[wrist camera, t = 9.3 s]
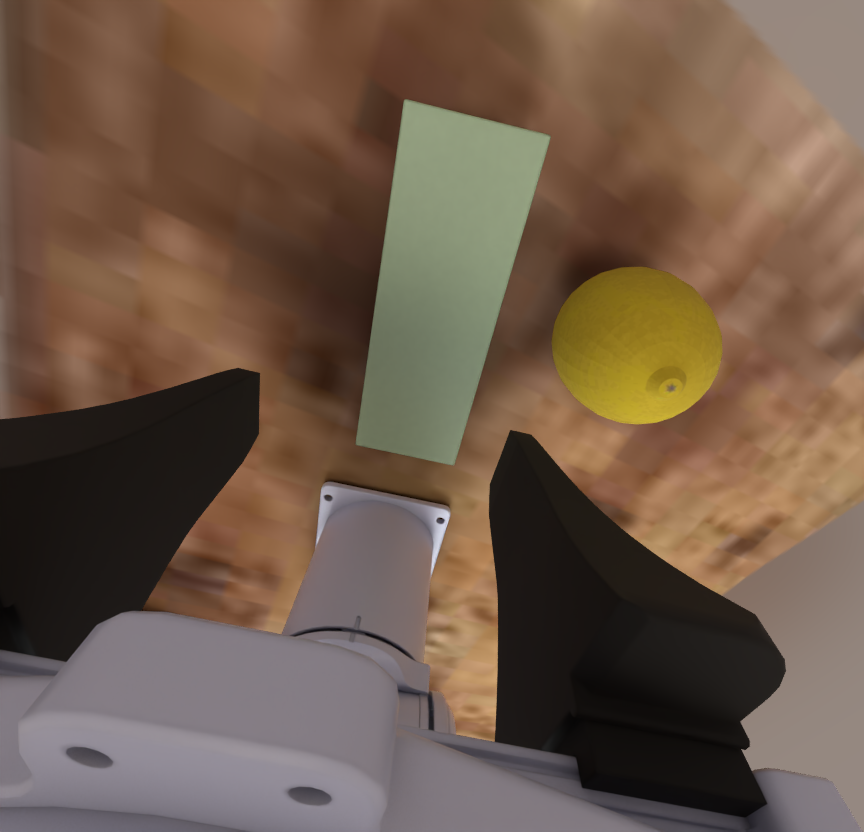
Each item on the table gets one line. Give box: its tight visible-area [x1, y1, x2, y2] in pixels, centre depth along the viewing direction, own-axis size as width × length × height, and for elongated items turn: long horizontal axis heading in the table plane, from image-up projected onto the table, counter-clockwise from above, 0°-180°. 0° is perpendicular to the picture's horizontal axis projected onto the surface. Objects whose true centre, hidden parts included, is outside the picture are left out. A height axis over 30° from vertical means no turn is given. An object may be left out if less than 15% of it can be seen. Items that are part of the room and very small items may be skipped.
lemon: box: [552, 267, 722, 424], centre depth 16 cm, size 6×6×8 cm
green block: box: [356, 99, 551, 465], centre depth 19 cm, size 14×5×3 cm, turn 168°
